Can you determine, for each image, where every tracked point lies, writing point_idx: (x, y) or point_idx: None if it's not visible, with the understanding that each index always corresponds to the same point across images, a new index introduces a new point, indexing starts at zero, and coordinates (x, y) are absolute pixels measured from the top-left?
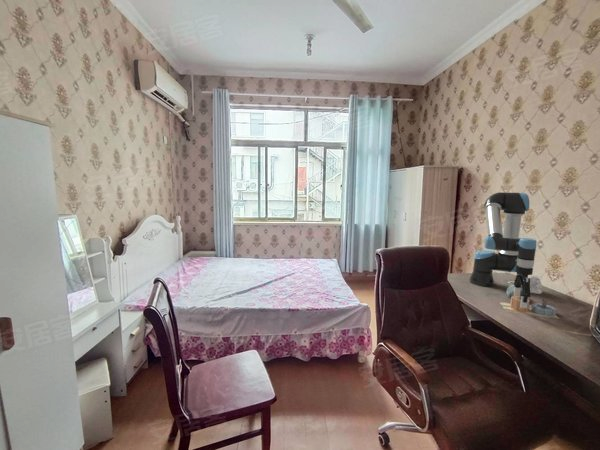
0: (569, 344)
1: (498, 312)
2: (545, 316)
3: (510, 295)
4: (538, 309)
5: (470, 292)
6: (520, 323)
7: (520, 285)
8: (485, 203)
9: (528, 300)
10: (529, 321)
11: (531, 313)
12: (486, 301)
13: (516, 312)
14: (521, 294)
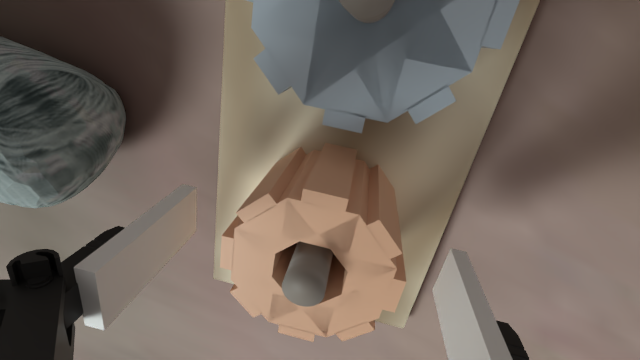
0: None
1: (408, 355)
2: (497, 50)
3: (83, 189)
4: (438, 107)
5: (89, 346)
6: (606, 323)
7: (60, 335)
8: None
9: (359, 218)
10: (572, 243)
11: (426, 157)
12: (219, 332)
13: (419, 269)
14: (58, 117)
